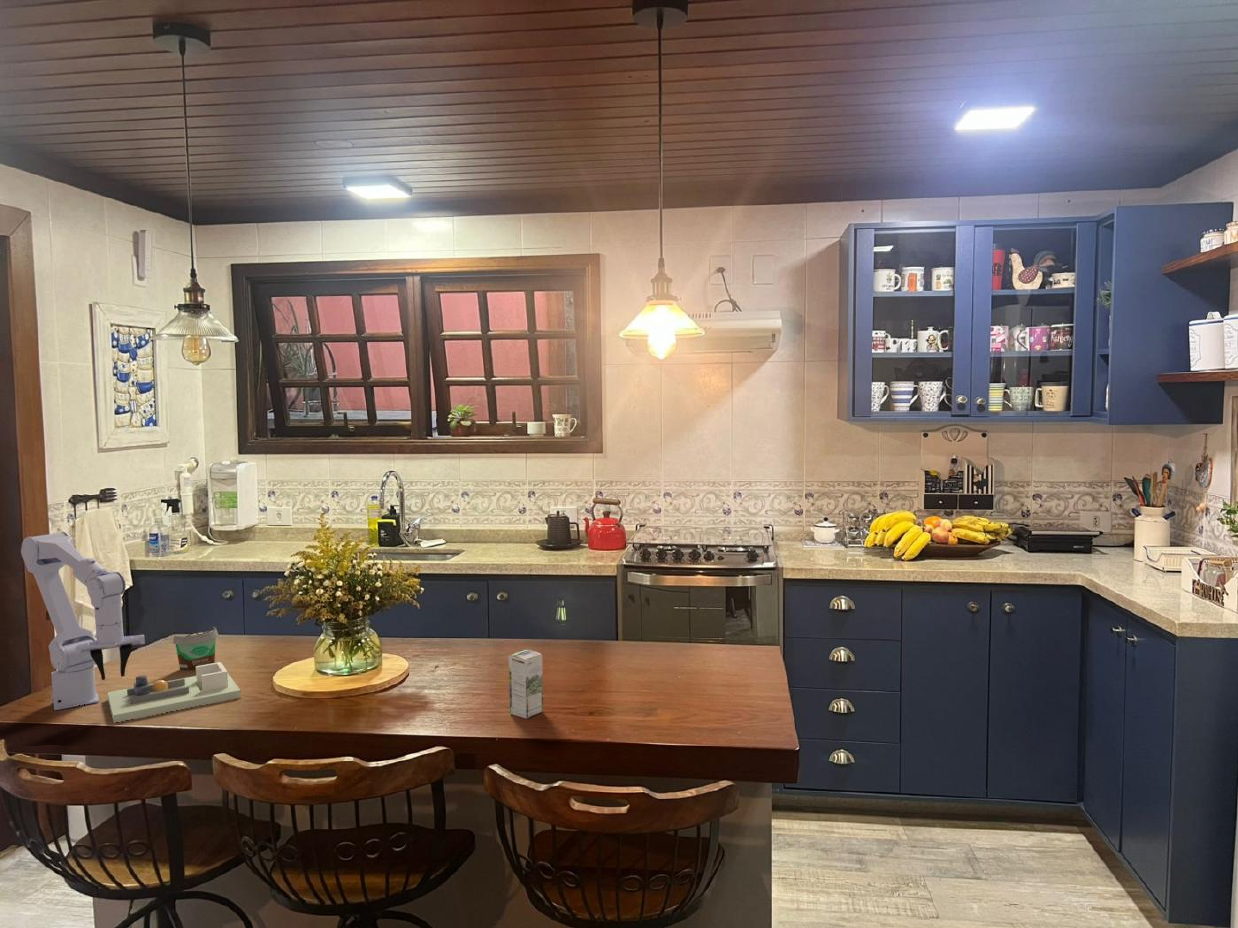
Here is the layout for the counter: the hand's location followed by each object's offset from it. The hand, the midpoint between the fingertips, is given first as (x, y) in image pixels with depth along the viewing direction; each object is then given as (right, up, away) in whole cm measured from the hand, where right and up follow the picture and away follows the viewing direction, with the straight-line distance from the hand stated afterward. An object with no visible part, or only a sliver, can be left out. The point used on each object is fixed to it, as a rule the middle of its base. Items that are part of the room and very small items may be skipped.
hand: (113, 677), depth 209 cm
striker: (+5, -6, +4) cm, 9 cm away
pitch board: (+11, -8, +8) cm, 15 cm away
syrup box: (+103, -7, -8) cm, 103 cm away
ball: (+8, -4, +6) cm, 11 cm away
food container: (+5, -6, +34) cm, 35 cm away
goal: (+18, -5, +13) cm, 22 cm away
